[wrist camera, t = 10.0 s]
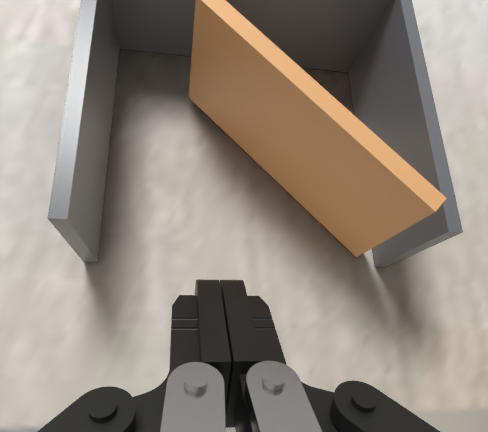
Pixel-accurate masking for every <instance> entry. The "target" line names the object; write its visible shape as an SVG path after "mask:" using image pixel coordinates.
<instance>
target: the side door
mask: <svg viewBox="0 0 488 432" xmlns="http://www.w3.org/2000/svg"><path fill="white" fill-rule="evenodd" d="M189 98H190V99H191V100H192V101H193V102H194V103H195V104H196V105H197V106H198V107H199V108H200V109H201V110H202V111H203V112H204V113H206V114H207V115H208V116H209V117H210V118H211V119H212V120H213V121H214V122H215V123H216V124H217V125H218V126H219V127H220V128H221V129H222V130H223V131H224V132H225V133H227V134H228V135H229V136H230V137H231V138H232V139H233V140H234V141H235V142H236V143H237V144H238V145H239V146H240V147H241V148H242V149H243V150H244V151H245V152H246V153H248V154H249V155H250V156H251V157H252V158H253V159H254V160H255V161H256V162H257V163H258V164H259V165H260V166H261V167H262V168H263V169H264V170H265V171H266V172H267V173H269V174H270V175H271V176H272V177H273V178H274V179H275V180H276V181H277V182H278V183H279V184H280V185H281V186H282V187H283V188H284V189H285V190H286V191H287V192H288V193H290V194H291V195H292V196H293V197H294V198H295V199H296V200H297V201H298V202H299V203H300V204H301V205H302V206H303V207H304V208H305V209H306V210H307V211H308V212H309V213H311V214H312V215H313V216H314V217H315V218H316V219H317V220H318V221H319V222H320V223H321V224H322V225H323V226H324V227H325V228H326V229H327V230H328V231H329V232H330V233H332V234H333V235H334V236H335V237H336V238H337V239H338V240H339V241H340V242H341V243H342V244H343V245H344V246H345V247H346V248H347V249H348V250H349V251H350V252H351V253H353V254H354V255H355V256H356V257H358V256H360V255H361V254H363V253H365V252H366V251H368V250H370V249H372V248H373V247H375V246H377V245H379V244H380V243H382V242H384V241H386V240H387V239H389V238H391V237H393V236H394V235H396V234H398V233H400V232H401V231H403V230H405V229H407V228H408V227H410V226H412V225H413V224H415V223H417V222H419V221H420V220H422V219H424V218H426V217H427V216H429V215H431V214H433V213H434V212H436V211H437V209H438V208H439V207H440V206H441V205H442V203H443V202H444V201H445V200H446V197H445V196H444V195H443V194H442V193H441V192H439V191H438V190H437V189H436V188H435V187H434V186H433V185H432V184H431V183H429V182H428V181H427V180H426V179H425V178H424V177H423V176H422V175H420V174H419V173H418V172H417V171H416V170H415V169H414V168H413V167H411V166H410V165H409V164H408V163H407V162H406V161H405V160H404V159H403V158H401V157H400V156H399V155H398V154H397V153H396V152H395V151H394V150H392V149H391V148H390V147H389V146H388V145H387V144H386V143H385V142H384V141H382V140H381V139H380V138H379V137H378V136H377V135H376V134H375V133H373V132H372V131H371V130H370V129H369V128H368V127H367V126H366V125H365V124H363V123H362V122H361V121H360V120H359V119H358V118H357V117H356V116H354V115H353V114H352V113H351V112H350V111H349V110H348V109H347V108H345V107H344V106H343V105H342V104H341V103H340V102H339V101H338V100H337V99H335V98H334V97H333V96H332V95H331V94H330V93H329V92H328V91H326V90H325V89H324V88H323V87H322V86H321V85H320V84H319V83H318V82H316V81H315V80H314V79H313V78H312V77H311V76H310V75H309V74H307V73H306V72H305V71H304V70H303V69H302V68H301V67H300V66H299V65H297V64H296V63H295V62H294V61H293V60H292V59H291V58H290V57H288V56H287V55H286V54H285V53H284V52H283V51H282V50H281V49H279V48H278V47H277V46H276V45H275V44H274V43H273V42H272V41H271V40H269V39H268V38H267V37H266V36H265V35H264V34H263V33H262V32H260V31H259V30H258V29H257V28H256V27H255V26H254V25H253V24H252V23H250V22H249V21H248V20H247V19H246V18H245V17H244V16H243V15H241V14H240V13H239V12H238V11H237V10H236V9H235V8H234V7H233V6H231V5H230V4H229V3H228V2H227V1H226V0H196V2H195V15H194V29H193V43H192V57H191V70H190V84H189Z"/></svg>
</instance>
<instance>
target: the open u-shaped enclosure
mask: <svg viewBox="0 0 488 432" xmlns="http://www.w3.org/2000/svg"><path fill="white" fill-rule="evenodd" d="M226 1H227V2H228V3H229V4H230V5H231V6H233V7H234V8H235V9H236V10H237V11H238V12H239V13H240V14H241V15H243V16H244V17H245V18H246V19H247V20H248V21H249V22H250V23H252V24H253V25H254V26H255V27H256V28H257V29H258V30H259V31H260V32H262V33H263V34H264V35H265V36H266V37H267V38H268V39H269V40H271V41H272V42H273V43H274V44H275V45H276V46H277V47H278V48H279V49H281V50H282V51H283V52H284V53H285V54H286V55H287V56H288V57H290V58H291V59H292V60H293V61H294V62H295V63H296V64H297V65H299V66H300V67H301V68H310V69H319V70H329V71H339V72H348V75H349V83H350V90H351V97H352V104H353V112H354V116H356V117H357V118H358V119H359V120H360V121H361V122H362V123H363V124H365V125H366V126H367V127H368V128H369V129H370V130H371V131H372V132H373V133H375V134H376V135H377V136H378V137H379V138H380V139H381V140H382V141H384V142H385V143H386V144H387V145H388V146H389V147H390V148H391V149H392V150H394V151H395V152H396V153H397V154H398V155H399V156H400V157H401V158H403V159H404V160H405V161H406V162H407V163H408V164H409V165H410V166H411V167H413V168H414V169H415V170H416V171H417V172H418V173H419V174H420V175H422V176H423V177H424V178H425V179H426V180H427V181H428V182H429V183H431V184H432V185H433V186H434V187H435V188H436V189H437V190H438V191H439V192H441V193H442V194H443V195H444V196H445V197H446V200H445V201H444V202H443V203H442V205H441V206H440V207H439V208H438V209H437V211H436V212H434V213H433V214H431V215H429V216H427V217H426V218H424V219H422V220H420V221H419V222H417V223H415V224H413V225H412V226H410V227H408V228H407V229H405V230H403V231H401V232H400V233H398V234H396V235H394V236H393V237H391V238H389V239H387V240H386V241H384V242H382V243H380V244H379V245H377V246H375V247H373V248H372V250H373V257H374V264H375V267H387V266H389V265H391V264H394V263H396V262H398V261H400V260H402V259H405V258H407V257H409V256H411V255H414V254H416V253H418V252H420V251H422V250H425V249H427V248H429V247H431V246H433V245H436V244H438V243H440V242H442V241H445V240H447V239H449V238H451V237H453V236H456V235H458V234H460V233H462V232H463V231H462V226H461V222H460V217H459V213H458V208H457V204H456V199H455V194H454V190H453V185H452V181H451V176H450V172H449V167H448V163H447V158H446V154H445V149H444V145H443V140H442V136H441V131H440V127H439V122H438V117H437V113H436V108H435V104H434V99H433V95H432V90H431V86H430V81H429V77H428V72H427V68H426V63H425V59H424V54H423V49H422V45H421V40H420V36H419V31H418V27H417V22H416V18H415V13H414V9H413V4H412V0H226ZM195 2H196V0H81V3H80V9H79V16H78V22H77V29H76V35H75V42H74V49H73V55H72V62H71V68H70V75H69V81H68V88H67V95H66V101H65V108H64V114H63V121H62V128H61V134H60V141H59V147H58V154H57V160H56V167H55V174H54V180H53V187H52V193H51V200H50V206H49V213H48V219H49V220H50V222H51V223H52V224H53V225H54V227H55V228H56V229H57V230H58V231H59V233H60V234H61V235H62V236H63V237H64V239H65V240H66V241H67V242H68V243H69V245H70V246H71V247H72V248H73V250H74V251H75V252H76V253H77V254H78V256H79V257H80V258H81V259H82V260H83V262H98V254H99V244H100V234H101V225H102V215H103V205H104V196H105V186H106V176H107V166H108V157H109V147H110V137H111V127H112V118H113V108H114V98H115V88H116V79H117V69H118V59H119V50H120V49H126V50H136V51H145V52H155V53H165V54H174V55H184V56H192V43H193V29H194V15H195Z"/></svg>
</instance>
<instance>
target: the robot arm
mask: <svg viewBox="0 0 488 432" xmlns="http://www.w3.org/2000/svg"><path fill="white" fill-rule="evenodd" d="M226 427H235V428H236V432H440V431H438V430H436V429H435V428H434V427H432V426H431V425H429V424H428V423H426V422H425V421H423V420H422V419H420V418H419V417H418V416H416V415H415V414H413V413H412V412H410V411H409V410H407V409H406V408H404V407H403V406H401V405H400V404H398V403H397V402H395V401H394V400H392V399H391V398H389V397H388V396H386V395H385V394H383V393H382V392H380V391H379V390H377V389H376V388H374V387H373V386H371V385H369V384H366V383H363V382H359V381H347V382H344V383H341V384H340V385H339V386H338V387H337V388H336V390H335V392H330V391H326V390H322V389H318V388H314V387H311V386H308V385H306V384H304V383H302V382H301V381H300V379H299V377H298V375H297V374H296V372H295V371H294V370H293V369H291V368H290V367H289V366H287V365H286V362H285V358H284V355H283V352H282V349H281V345H280V342H279V339H278V336H277V332H276V329H275V326H274V323H273V320H272V316H271V313H270V310H269V307H268V305H267V304H266V303H265V302H264V301H263V300H262V299H261V298H260V297H259V296H247V294H246V289H245V285H244V282H243V280H220V281H219V280H196V288H195V295H179V297H178V298H177V300H176V301H175V303H174V304H173V305H172V324H171V345H170V371H169V374H168V376H167V378H166V379H165V381H164V382H163V383H162V384H161V385H160V386H158V387H157V388H155V389H154V390H152V391H150V392H147V393H145V394H141V395H138V396H135V397H132V396H131V395H130V394H129V393H128V392H127V391H125V390H123V389H120V388H117V387H101V388H97V389H94V390H91V391H89V392H87V393H85V394H84V395H83V396H81V397H80V398H79V399H77V400H76V401H75V402H74V403H72V404H71V405H70V406H69V407H68V408H66V409H65V410H64V411H63V412H61V413H60V414H59V415H58V416H56V417H55V418H54V419H53V420H51V421H50V422H49V423H48V424H46V425H45V426H44V427H43V428H41V429H40V430H39V431H38V432H225V428H226Z"/></svg>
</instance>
